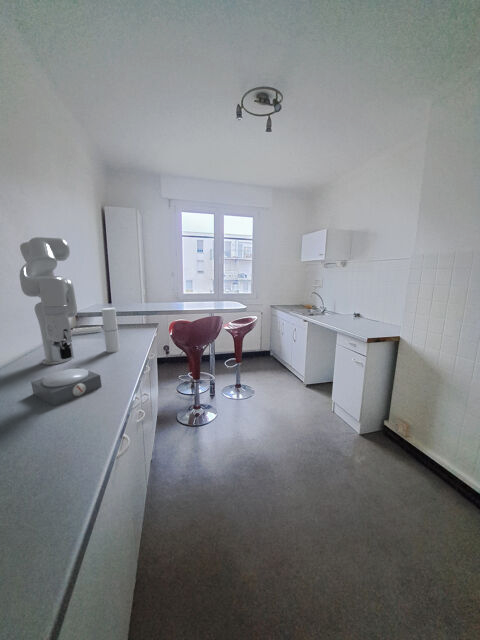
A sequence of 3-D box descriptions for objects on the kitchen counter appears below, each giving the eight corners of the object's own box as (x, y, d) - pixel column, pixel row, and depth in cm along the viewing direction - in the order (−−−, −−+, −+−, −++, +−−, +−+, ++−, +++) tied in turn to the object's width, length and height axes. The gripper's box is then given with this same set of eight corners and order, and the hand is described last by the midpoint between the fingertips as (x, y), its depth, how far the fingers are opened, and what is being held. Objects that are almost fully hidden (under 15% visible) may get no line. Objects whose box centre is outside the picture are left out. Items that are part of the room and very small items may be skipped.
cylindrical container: (106, 353, 143) (101, 310, 138) (106, 349, 150) (101, 308, 145) (120, 351, 147) (115, 309, 142) (119, 347, 153) (115, 307, 148)
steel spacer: (53, 359, 96) (50, 344, 95) (67, 355, 100) (65, 341, 99) (59, 362, 94) (57, 346, 93) (73, 358, 98) (71, 343, 97)
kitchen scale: (33, 393, 97) (30, 379, 96) (79, 377, 111) (77, 364, 110) (55, 406, 88) (52, 390, 87) (102, 386, 102) (100, 373, 101)
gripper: (33, 310, 94) (41, 356, 98) (55, 314, 86) (63, 364, 89) (56, 307, 101) (62, 350, 104) (78, 310, 92) (85, 357, 96)
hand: (63, 356), depth 97 cm, fingers closed on steel spacer, 5 cm apart
